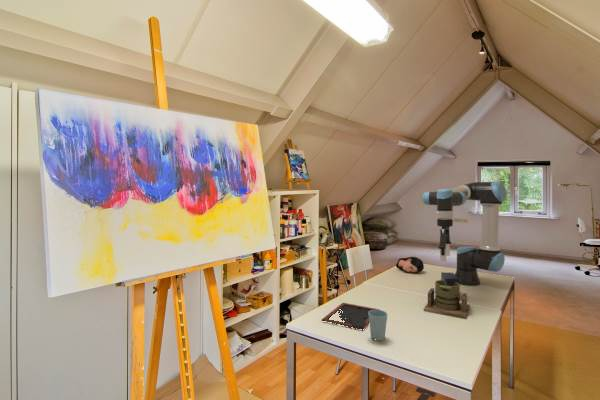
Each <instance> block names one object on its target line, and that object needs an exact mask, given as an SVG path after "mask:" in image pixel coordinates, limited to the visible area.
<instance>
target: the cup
mask: <svg viewBox="0 0 600 400" xmlns="http://www.w3.org/2000/svg"><path fill="white" fill-rule="evenodd" d="M368 314H369V323H370V324H369V330H370V338H371V337H372V338H373V339H376V340H382V341H384V340H385V339H384V338H386V329H387V320H388V312H386V311H384V310H381V309H380V310H371V311H369V312H368ZM372 338H371V339H372ZM373 339H372V340H373ZM383 339H384V340H383ZM376 340H375V341H376Z"/></svg>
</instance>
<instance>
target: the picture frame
mask: <svg viewBox="0 0 600 400" xmlns="http://www.w3.org/2000/svg"><path fill="white" fill-rule="evenodd" d="M339 309H341V310H342V311H343V313H342V311H341V310H339ZM371 310H381V309H380V308H374V307H369V306H368V307H367V306H365V305H364V306H363V305H358V304H351V303H347V302H342V303H340V305H338V306H337V307H336V308H334V309H332V311H330V312H329V313H328V314H327V315H325V316H324V317H323V318H321V322H322V321H327V322H332V323H336V324H340V325H344V326H348V327H353V328H357V329H362V330H363V329H364V328H365V327H366V326H367V325H368V324H369V314H368V312H369V311H371ZM337 311H339V312H338V313H340V311H341V313H340V314H339V315H341V316H339V317H340V318H342V319H341V320H342V321H343V320H344V321H345V322H344V323H343V322H339V321H334V320H329V318H330V317H331V316H332V315H333V314H335V313H336V312H337ZM345 318H346V319H345ZM369 325H370V324H369ZM369 325H368V326H369ZM368 326H367V327H368ZM367 327H366V328H367ZM366 328H365V329H366Z"/></svg>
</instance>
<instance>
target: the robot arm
mask: <svg viewBox="0 0 600 400" xmlns="http://www.w3.org/2000/svg"><path fill="white" fill-rule="evenodd" d="M507 194H508V193H507V189H506V186H505V185H504V183H502V182H500V181H478V182H477V181H475V182H474V181H473V182H470V183H465V184H460V185H459V186H457V187H453V188H439V189H437V191H426V192H424V193H423V195H422V202H423V203H424V205H426V206H427V205H428V206H436V208H437V209H436V211H435V214H436V216H437V219H436V225H437V226H438V227H441V228H440V230H439V232H440V233H439V235H440V236H439V246H438V248H437V249H439V261H440V262H443V263H447V257H451V252H450V251H451V249H450V247H451V246H450V245H451V244H452V241H451V238H450V227H453V226H454V225H453V224H454V221H453V217H454V210H453V209H454V207H460V206H462V205H464V204H465V203H466V201H468V200H469V201H478V202H479V205H480V206H481V207H482V216H481V217H482V218H481V219H482V220H481V223H482V224H481V245H479V247H478V246H473V245H471V246H470V245H468V246H459V247H458V248H457V249H456V271H455V273H454V274H455V275H456V276H457V277H458V278H459V284H460V285H463V286H478V285H480V283H481V280H480V277H479V274H478V270H483V271H488V272H493V273H494V272H495V273H497V272H500V271H501V270H502V269H503V266H504V264H505V260H506V259H505V258H506V257H505V254H504V253H502V252H501V248H500V247H499V217H500V216H499V214H500V213H499V212H500V211H499V210H500V207H501V206H502V205H503V202H505V201H506V200H507V196H508V195H507Z"/></svg>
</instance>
